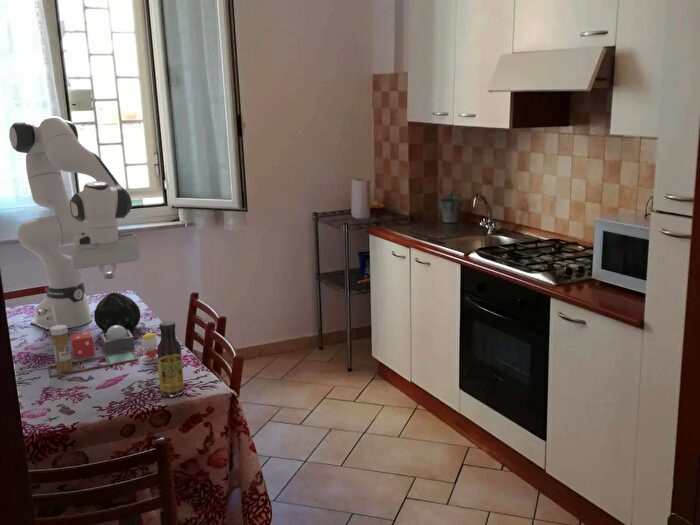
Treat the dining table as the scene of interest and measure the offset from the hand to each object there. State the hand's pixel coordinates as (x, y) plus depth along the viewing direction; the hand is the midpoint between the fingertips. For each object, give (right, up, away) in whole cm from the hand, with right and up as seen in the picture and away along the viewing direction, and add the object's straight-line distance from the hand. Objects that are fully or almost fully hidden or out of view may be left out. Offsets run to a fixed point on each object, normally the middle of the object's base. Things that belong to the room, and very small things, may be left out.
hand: (109, 278), depth 220 cm
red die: (-8, -24, +1) cm, 25 cm away
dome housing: (+1, -22, +5) cm, 23 cm away
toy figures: (+17, -24, -5) cm, 30 cm away
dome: (+1, -21, +5) cm, 22 cm away
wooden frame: (-2, -26, -8) cm, 27 cm away
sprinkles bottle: (-9, -27, -11) cm, 31 cm away
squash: (-4, -19, +22) cm, 29 cm away
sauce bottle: (+28, -30, -32) cm, 52 cm away
